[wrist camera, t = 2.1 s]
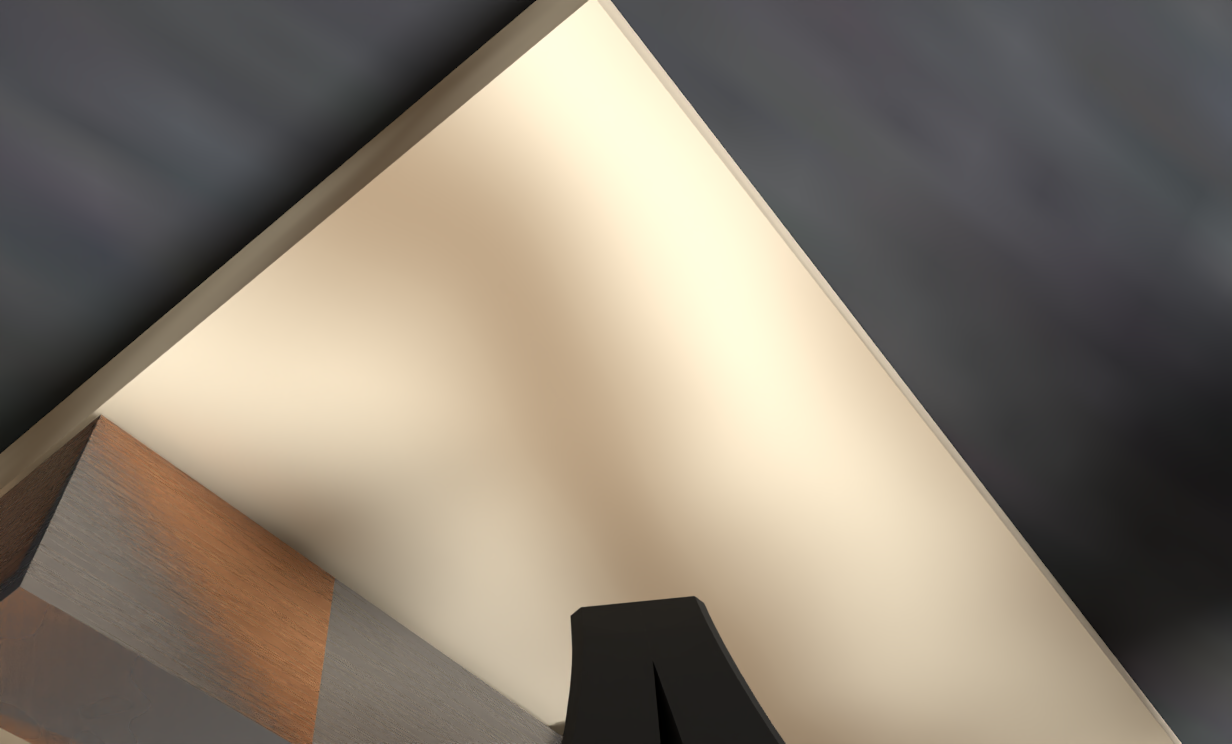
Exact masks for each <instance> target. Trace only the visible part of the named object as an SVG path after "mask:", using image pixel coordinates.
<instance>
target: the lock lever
mask: <svg viewBox="0 0 1232 744" xmlns="http://www.w3.org/2000/svg"><path fill="white" fill-rule="evenodd" d="M0 728H1V729H3V730H5V731H7V732H9V733H11V734H13V735H15V736H17V737H19V738H21V739H23V740H25V741H27V742H29V743H31V744H561V743H562V738H563V735H559V734H558V733H556V732H555V731H553V730H552V729H550V728H549V727H548V726H546V725H545V724H543V723H542V722H540V721H539V720H538V719H536V718H535V717H533V716H532V715H530V714H529V713H528V712H526V711H525V710H523V709H522V708H520V707H519V706H518V705H516V704H515V703H513V702H512V701H510V700H509V699H507V698H506V697H505V696H503V695H502V694H500V693H499V692H497V691H496V690H495V689H493V688H492V687H490V686H489V685H487V684H486V683H485V682H483V681H482V680H480V679H479V678H477V677H476V676H475V675H473V674H472V673H470V672H469V671H467V670H466V669H465V668H463V667H462V666H460V665H459V664H457V663H456V662H455V661H453V660H452V659H450V658H449V657H447V656H446V655H445V654H443V653H442V652H440V651H439V650H437V649H436V648H435V647H433V646H432V645H430V644H429V643H427V642H426V641H425V640H423V639H422V638H420V637H419V636H417V635H416V634H415V633H413V632H412V631H410V630H409V629H407V628H406V627H405V626H403V625H402V624H400V623H399V622H397V621H396V620H394V619H393V618H392V617H390V616H389V615H387V614H386V613H384V612H383V611H382V610H380V609H379V608H377V607H376V606H374V605H373V604H372V603H370V602H369V601H367V600H366V599H364V598H363V597H362V596H360V595H359V594H357V593H356V592H354V591H353V590H352V589H350V588H349V587H347V586H346V585H344V584H343V583H342V582H340V581H339V580H337V579H336V578H334V577H333V576H332V575H330V574H329V573H327V572H326V571H324V570H323V569H322V568H320V567H319V566H317V565H316V564H314V563H313V562H312V561H310V560H309V559H307V558H306V557H304V556H303V555H302V554H300V553H299V552H297V551H296V550H294V549H293V548H292V547H290V546H289V545H287V544H286V543H284V542H283V541H281V540H280V539H279V538H277V537H276V536H274V535H273V534H271V533H270V532H269V531H267V530H266V529H264V528H263V527H261V526H260V525H259V524H257V523H256V522H254V521H253V520H251V519H250V518H249V517H247V516H246V515H244V514H243V513H241V512H240V511H239V510H237V509H236V508H234V507H233V506H231V505H230V504H229V503H227V502H226V501H224V500H223V499H221V498H220V497H219V496H217V495H216V494H214V493H213V492H211V491H210V490H209V489H207V488H206V487H204V486H203V485H201V484H200V483H199V482H197V481H196V480H194V479H193V478H191V477H190V476H189V475H187V474H186V473H184V472H183V471H181V470H180V469H179V468H177V467H176V466H174V465H173V464H171V463H170V462H168V461H167V460H166V459H164V458H163V457H161V456H160V455H158V454H157V453H156V452H154V451H153V450H151V449H150V448H148V447H147V446H146V445H144V444H143V443H141V442H140V441H138V440H137V439H136V438H134V437H133V436H131V435H130V434H128V433H127V432H126V431H124V430H123V429H121V428H120V427H118V426H117V425H116V424H114V423H113V422H111V421H110V420H108V419H107V418H106V417H104V416H103V415H100V416H99V417H97V418H96V419H95V420H94V421H92V422H91V423H90V424H89V425H88V426H86V427H85V428H84V429H83V430H82V431H80V432H79V433H78V434H77V435H76V436H74V437H73V438H72V439H71V440H70V441H68V442H67V443H66V444H65V445H64V446H62V447H61V448H60V449H59V450H57V451H56V452H55V453H54V454H53V455H51V456H50V457H49V458H48V459H47V460H45V461H44V462H43V463H42V464H41V465H39V466H38V467H37V468H36V469H35V470H33V471H32V472H31V473H30V474H28V475H27V476H26V477H25V478H24V479H22V480H21V481H20V482H19V483H18V484H16V485H15V486H14V487H13V488H12V489H10V490H9V491H8V492H7V493H6V494H4V495H3V496H2V497H1V498H0Z"/></svg>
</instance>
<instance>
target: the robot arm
mask: <svg viewBox="0 0 1232 744" xmlns="http://www.w3.org/2000/svg"><path fill="white" fill-rule="evenodd" d="M570 618H571V639H572V667H571V680H570V690H569V698H568V706H567V713H566V721H565V727H564V733H563V738H562V743H561V744H786V743H785V742H784V740H783V739H782V737H781V736H780V734H779V733H778V732H777V730H776V729H775V727H774V726H773V724H772V723H771V721H770V719H769V718H768V716H767V715H766V713H765V712H764V710H763V708H762V707H761V705H760V704H759V702H758V701H757V699H756V697H755V696H754V694H753V692H752V691H751V689H750V687H749V686H748V684H747V682H746V681H745V679H744V677H743V676H742V674H741V672H740V671H739V669H738V667H737V665H736V664H735V662H734V660H733V658H732V657H731V655H730V653H729V651H728V649H727V648H726V646H725V644H724V642H723V640H722V638H721V636H720V635H719V633H718V631H717V629H716V627H715V625H714V623H713V621H712V619H711V617H710V615H709V613H708V610H707V608H706V606H705V604H704V602H702V601H701V600H699V599H698V598H697V597H695V596H688V597H678V598H668V599H658V600H648V601H638V602H628V603H618V604H607V605H597V606H587V607H580V608H579V609H578V610H577V611H576V612H574V613H573V614H572V615H571V616H570Z"/></svg>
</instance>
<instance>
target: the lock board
mask: <svg viewBox="0 0 1232 744" xmlns="http://www.w3.org/2000/svg"><path fill="white" fill-rule="evenodd" d="M100 415H103V416H104V417H106V418H107V419H108V420H110V421H111V422H113V423H114V424H116V425H117V426H118V427H120V428H121V429H123V430H124V431H126V432H127V433H128V434H130V435H131V436H133V437H134V438H136V439H137V440H138V441H140V442H141V443H143V444H144V445H146V446H147V447H148V448H150V449H151V450H153V451H154V452H156V453H157V454H158V455H160V456H161V457H163V458H164V459H166V460H167V461H168V462H170V463H171V464H173V465H174V466H176V467H177V468H179V469H180V470H181V471H183V472H184V473H186V474H187V475H189V476H190V477H191V478H193V479H194V480H196V481H197V482H199V483H200V484H201V485H203V486H204V487H206V488H207V489H209V490H210V491H211V492H213V493H214V494H216V495H217V496H219V497H220V498H221V499H223V500H224V501H226V502H227V503H229V504H230V505H231V506H233V507H234V508H236V509H237V510H239V511H240V512H241V513H243V514H244V515H246V516H247V517H249V518H250V519H251V520H253V521H254V522H256V523H257V524H259V525H260V526H261V527H263V528H264V529H266V530H267V531H269V532H270V533H271V534H273V535H274V536H276V537H277V538H279V539H280V540H281V541H283V542H284V543H286V544H287V545H289V546H290V547H292V548H293V549H294V550H296V551H297V552H299V553H300V554H302V555H303V556H304V557H306V558H307V559H309V560H310V561H312V562H313V563H314V564H316V565H317V566H319V567H320V568H322V569H323V570H324V571H326V572H327V573H329V574H330V575H332V576H333V577H334V578H336V579H337V580H339V581H340V582H342V583H343V584H344V585H346V586H347V587H349V588H350V589H352V590H353V591H354V592H356V593H357V594H359V595H360V596H362V597H363V598H364V599H366V600H367V601H369V602H370V603H372V604H373V605H374V606H376V607H377V608H379V609H380V610H382V611H383V612H384V613H386V614H387V615H389V616H390V617H392V618H393V619H394V620H396V621H397V622H399V623H400V624H402V625H403V626H405V627H406V628H407V629H409V630H410V631H412V632H413V633H415V634H416V635H417V636H419V637H420V638H422V639H423V640H425V641H426V642H427V643H429V644H430V645H432V646H433V647H435V648H436V649H437V650H439V651H440V652H442V653H443V654H445V655H446V656H447V657H449V658H450V659H452V660H453V661H455V662H456V663H457V664H459V665H460V666H462V667H463V668H465V669H466V670H467V671H469V672H470V673H472V674H473V675H475V676H476V677H477V678H479V679H480V680H482V681H483V682H485V683H486V684H487V685H489V686H490V687H492V688H493V689H495V690H496V691H497V692H499V693H500V694H502V695H503V696H505V697H506V698H507V699H509V700H510V701H512V702H513V703H515V704H516V705H518V706H519V707H520V708H522V709H523V710H525V711H526V712H528V713H529V714H530V715H532V716H533V717H535V718H536V719H538V720H539V721H540V722H542V723H543V724H545V725H546V726H548V727H549V728H550V729H552V730H553V731H555V732H556V733H558V734H559V735H563V733H564V727H565V721H566V713H567V706H568V698H569V690H570V680H571V667H572V639H571V618H570V616H571V615H572V614H573V613H574V612H576V611H577V610H578V609H579V608H580V607H587V606H597V605H607V604H618V603H628V602H638V601H648V600H658V599H668V598H678V597H688V596H695V597H697V598H698V599H699V600H701V601H702V602H704V604H705V606H706V608H707V610H708V613H709V615H710V617H711V619H712V621H713V623H714V625H715V627H716V629H717V631H718V633H719V635H720V636H721V638H722V640H723V642H724V644H725V646H726V648H727V649H728V651H729V653H730V655H731V657H732V658H733V660H734V662H735V664H736V665H737V667H738V669H739V671H740V672H741V674H742V676H743V677H744V679H745V681H746V682H747V684H748V686H749V687H750V689H751V691H752V692H753V694H754V696H755V697H756V699H757V701H758V702H759V704H760V705H761V707H762V708H763V710H764V712H765V713H766V715H767V716H768V718H769V719H770V721H771V723H772V724H773V726H774V727H775V729H776V730H777V732H778V733H779V734H780V736H781V737H782V739H783V740H784V742H785V743H786V744H1182V743H1181V742H1180V741H1179V739H1178V738H1177V737H1176V735H1175V734H1174V733H1173V731H1172V730H1171V729H1170V728H1169V726H1168V725H1167V724H1166V722H1165V721H1164V720H1163V718H1162V717H1161V716H1160V715H1159V713H1158V712H1157V711H1156V709H1155V708H1154V707H1153V705H1152V704H1151V703H1150V702H1149V700H1148V699H1147V698H1146V696H1145V695H1144V694H1143V692H1142V691H1141V690H1140V689H1139V687H1138V686H1137V685H1136V683H1135V682H1134V681H1133V679H1132V678H1131V677H1130V676H1129V674H1128V673H1127V672H1126V670H1125V669H1124V668H1123V666H1122V665H1121V664H1120V662H1119V661H1118V660H1117V659H1116V657H1115V656H1114V655H1113V653H1112V652H1111V651H1110V649H1109V648H1108V647H1107V646H1106V644H1105V643H1104V642H1103V640H1102V639H1101V638H1100V636H1099V635H1098V634H1097V633H1096V631H1095V630H1094V629H1093V627H1092V626H1091V625H1090V623H1089V622H1088V621H1087V620H1086V618H1085V617H1084V616H1083V614H1082V613H1081V612H1080V610H1079V609H1078V608H1077V607H1076V605H1075V604H1074V603H1073V601H1072V600H1071V599H1070V597H1069V596H1068V595H1067V594H1066V592H1065V591H1064V590H1063V588H1062V587H1061V586H1060V584H1059V583H1058V582H1057V581H1056V579H1055V578H1054V577H1053V575H1052V574H1051V573H1050V571H1049V570H1048V569H1047V568H1046V566H1045V565H1044V564H1043V562H1042V561H1041V560H1040V558H1039V557H1038V556H1037V555H1036V553H1035V552H1034V551H1033V549H1032V548H1031V547H1030V545H1029V544H1028V543H1027V542H1026V540H1025V539H1024V538H1023V536H1022V535H1021V534H1020V532H1019V531H1018V530H1017V529H1016V527H1015V526H1014V525H1013V523H1012V522H1011V521H1010V519H1009V518H1008V517H1007V516H1006V514H1005V513H1004V512H1003V510H1002V509H1001V508H1000V506H999V505H998V504H997V503H996V501H995V500H994V499H993V497H992V496H991V495H990V493H989V492H988V491H987V490H986V488H985V487H984V486H983V484H982V483H981V482H980V480H979V479H978V478H977V476H976V475H975V474H974V473H973V471H972V470H971V469H970V467H969V466H968V465H967V463H966V462H965V461H964V460H963V458H962V457H961V456H960V454H959V453H958V452H957V450H956V449H955V448H954V447H953V445H952V444H951V443H950V441H949V440H948V439H947V437H946V436H945V435H944V434H943V432H942V431H941V430H940V428H939V427H938V426H937V424H936V423H935V422H934V421H933V419H932V418H931V417H930V415H929V414H928V413H927V411H926V410H925V409H924V408H923V406H922V405H921V404H920V402H919V401H918V400H917V398H916V397H915V396H914V395H913V393H912V392H911V391H910V389H909V388H908V387H907V385H906V384H905V383H904V382H903V380H902V379H901V378H900V376H899V375H898V374H897V372H896V371H895V370H894V369H893V367H892V366H891V365H890V363H889V362H888V361H887V359H886V358H885V357H884V356H883V354H882V353H881V352H880V350H879V349H878V348H877V346H876V345H875V344H874V343H873V341H872V340H871V339H870V337H869V336H868V335H867V333H866V332H865V331H864V330H863V328H862V327H861V326H860V324H859V323H858V322H857V320H856V319H855V318H854V317H853V315H852V314H851V313H850V311H849V310H848V309H847V307H846V306H845V305H844V304H843V302H842V301H841V300H840V298H839V297H838V296H837V294H836V293H835V292H834V291H833V289H832V288H831V287H830V285H829V284H828V283H827V281H826V280H825V279H824V277H823V276H822V275H821V274H820V272H819V271H818V270H817V268H816V267H815V266H814V264H813V263H812V262H811V261H810V259H809V258H808V257H807V255H806V254H805V253H804V251H803V250H802V249H801V248H800V246H799V245H798V244H797V242H796V241H795V240H794V238H793V237H792V236H791V235H790V233H789V232H788V231H787V229H786V228H785V227H784V225H783V224H782V223H781V222H780V220H779V219H778V218H777V216H776V215H775V214H774V212H773V211H772V210H771V209H770V207H769V206H768V205H767V203H766V202H765V201H764V199H763V198H762V197H761V196H760V194H759V193H758V192H757V190H756V189H755V188H754V186H753V185H752V184H751V183H750V181H749V180H748V179H747V177H746V176H745V175H744V173H743V172H742V171H741V170H740V168H739V167H738V166H737V164H736V163H735V162H734V160H733V159H732V158H731V157H730V155H729V154H728V153H727V151H726V150H725V149H724V147H723V146H722V145H721V144H720V142H719V141H718V140H717V138H716V137H715V136H714V134H713V133H712V132H711V131H710V129H709V128H708V127H707V125H706V124H705V123H704V121H703V120H702V119H701V118H700V116H699V115H698V114H697V112H696V111H695V110H694V108H693V107H692V106H691V105H690V103H689V102H688V101H687V99H686V98H685V97H684V95H683V94H682V93H681V91H680V90H679V89H678V88H677V86H676V85H675V84H674V82H673V81H672V80H671V78H670V77H669V76H668V75H667V73H666V72H665V71H664V69H663V68H662V67H661V65H660V64H659V63H658V62H657V60H656V59H655V58H654V56H653V55H652V54H651V52H650V51H649V50H648V49H647V47H646V46H645V45H644V43H643V42H642V41H641V39H640V38H639V37H638V36H637V34H636V33H635V32H634V30H633V29H632V28H631V26H630V25H629V24H628V23H627V21H626V20H625V19H624V17H623V16H622V15H621V13H620V12H619V11H618V10H617V8H616V7H615V6H614V4H613V3H612V2H611V0H536V1H535V2H534V3H533V4H532V5H530V6H529V7H528V8H527V9H526V10H525V11H523V12H522V13H521V14H520V15H519V16H517V17H516V18H515V19H514V20H513V21H512V22H510V23H509V24H508V25H507V26H506V27H504V28H503V29H502V30H501V31H500V32H498V33H497V34H496V35H495V36H494V37H493V38H491V39H490V40H489V41H488V42H487V43H485V44H484V45H483V46H482V47H481V48H480V49H478V50H477V51H476V52H475V53H474V54H472V55H471V56H470V57H469V58H468V59H467V60H465V61H464V62H463V63H462V64H461V65H459V66H458V67H457V68H456V69H455V70H454V71H452V72H451V73H450V74H449V75H448V76H446V77H445V78H444V79H443V80H442V81H441V82H439V83H438V84H437V85H436V86H435V87H433V88H432V89H431V90H430V91H429V92H428V93H426V94H425V95H424V96H423V97H422V98H420V99H419V100H418V101H417V102H416V103H415V104H413V105H412V106H411V107H410V108H409V109H407V110H406V111H405V112H404V113H403V114H402V115H400V116H399V117H398V118H397V119H396V120H394V121H393V122H392V123H391V124H390V125H389V126H387V127H386V128H385V129H384V130H383V131H381V132H380V133H379V134H378V135H377V136H376V137H374V138H373V139H372V140H371V141H370V142H368V143H367V144H366V145H365V146H364V147H363V148H361V149H360V150H359V151H358V152H357V153H355V154H354V155H353V156H352V157H351V158H350V159H348V160H347V161H346V162H345V163H344V164H342V165H341V166H340V167H339V168H338V169H337V170H335V171H334V172H333V173H332V174H331V175H329V176H328V177H327V178H326V179H325V180H324V181H322V182H321V183H320V184H319V185H318V186H316V187H315V188H314V189H313V190H312V191H310V192H309V193H308V194H307V195H306V196H305V197H303V198H302V199H301V200H300V201H299V202H297V203H296V204H295V205H294V206H293V207H292V208H290V209H289V210H288V211H287V212H286V213H284V214H283V215H282V216H281V217H280V218H279V219H277V220H276V221H275V222H274V223H273V224H271V225H270V226H269V227H268V228H267V229H266V230H264V231H263V232H262V233H261V234H260V235H258V236H257V237H256V238H255V239H254V240H253V241H251V242H250V243H249V244H248V245H247V246H245V247H244V248H243V249H242V250H241V251H240V252H238V253H237V254H236V255H235V256H234V257H232V258H231V259H230V260H229V261H228V262H227V263H225V264H224V265H223V266H222V267H221V268H219V269H218V270H217V271H216V272H215V273H214V274H212V275H211V276H210V277H209V278H208V279H206V280H205V281H204V282H203V283H202V284H201V285H199V286H198V287H197V288H196V289H195V290H193V291H192V292H191V293H190V294H189V295H188V296H186V297H185V298H184V299H183V300H182V301H180V302H179V303H178V304H177V305H176V306H175V307H173V308H172V309H171V310H170V311H169V312H167V313H166V314H165V315H164V316H163V317H162V318H160V319H159V320H158V321H157V322H156V323H154V324H153V325H152V326H151V327H150V328H149V329H147V330H146V331H145V332H144V333H143V334H141V335H140V336H139V337H138V338H137V339H135V340H134V341H133V342H132V343H131V344H130V345H128V346H127V347H126V348H125V349H124V350H122V351H121V352H120V353H119V354H118V355H117V356H115V357H114V358H113V359H112V360H111V361H109V362H108V363H107V364H106V365H105V366H104V367H102V368H101V369H100V370H99V371H98V372H96V373H95V374H94V375H93V376H92V377H91V378H89V379H88V380H87V381H86V382H85V383H83V384H82V385H81V386H80V387H79V388H78V389H76V390H75V391H74V392H73V393H72V394H70V395H69V396H68V397H67V398H66V399H65V400H63V401H62V402H61V403H60V404H59V405H57V406H56V407H55V408H54V409H53V410H52V411H50V412H49V413H48V414H47V415H46V416H44V417H43V418H42V419H41V420H40V421H39V422H37V423H36V424H35V425H34V426H33V427H31V428H30V429H29V430H28V431H27V432H26V433H24V434H23V435H22V436H21V437H20V438H18V439H17V440H16V441H15V442H14V443H13V444H11V445H10V446H9V447H8V448H7V449H5V450H4V451H3V452H2V453H1V454H0V498H1V497H2V496H3V495H4V494H6V493H7V492H8V491H9V490H10V489H12V488H13V487H14V486H15V485H16V484H18V483H19V482H20V481H21V480H22V479H24V478H25V477H26V476H27V475H28V474H30V473H31V472H32V471H33V470H35V469H36V468H37V467H38V466H39V465H41V464H42V463H43V462H44V461H45V460H47V459H48V458H49V457H50V456H51V455H53V454H54V453H55V452H56V451H57V450H59V449H60V448H61V447H62V446H64V445H65V444H66V443H67V442H68V441H70V440H71V439H72V438H73V437H74V436H76V435H77V434H78V433H79V432H80V431H82V430H83V429H84V428H85V427H86V426H88V425H89V424H90V423H91V422H92V421H94V420H95V419H96V418H97V417H99V416H100ZM0 744H31V743H29V742H27V741H25V740H23V739H21V738H19V737H17V736H15V735H13V734H11V733H9V732H7V731H5V730H3V729H1V728H0Z"/></svg>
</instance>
